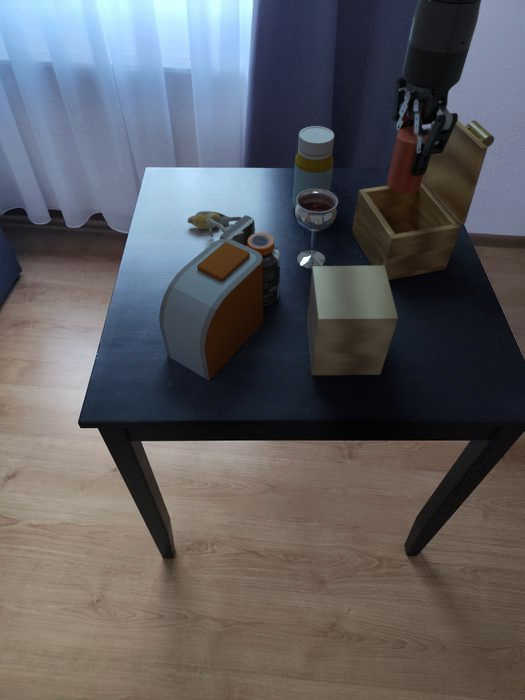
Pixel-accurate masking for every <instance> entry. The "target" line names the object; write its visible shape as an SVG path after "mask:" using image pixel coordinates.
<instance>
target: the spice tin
mask: <svg viewBox="0 0 525 700" xmlns="http://www.w3.org/2000/svg"><path fill="white" fill-rule="evenodd" d="M428 136H429V134H428V135H425V137H424V143H426V141H427V139H428ZM416 144H417V136H416V135H415V134H414V127H405V128H402V129H400V130H399V131H397V133H396V138H395V143H394V148H393V152H392V157H391V162H390V165H389V171H388V175H387V179H386V186H387V185H388V187H389V188H390V189H391V190H393V191H395V192H398V193H403V194H409V193H414V192H416V191H418V190H419V188H420V186H421V182H422V181H423V180H422V179H423V175H421V176H412V175H411V174H410V170H411V166H412V162H413V158H414V154H415V151H416Z"/></svg>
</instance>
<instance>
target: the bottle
mask: <svg viewBox="0 0 525 700" xmlns="http://www.w3.org/2000/svg"><path fill="white" fill-rule="evenodd" d="M297 141H298V142H297V146H298V147H297V152H296V155H295V159H294V171H293V172H294V173H293V192H292V208H293V210H294V211H295V208H296V205H297V202H296V198H297V196H298V194H300V193H301V192H302V191H305V190H308V189H323V190H327V191H329V192H331V187H332V180H333V179H332V178H333V172H334V156H333V150H334V141H335V133H334V132H333V130H331V129H330V128H328V127H325V126H319V125H310V126H306V127H304V128H302V129H301V130H299V133H298V140H297Z"/></svg>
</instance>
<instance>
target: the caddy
mask: <svg viewBox="0 0 525 700" xmlns="http://www.w3.org/2000/svg"><path fill="white" fill-rule="evenodd" d="M352 222H353V223H352V228H351V234H352V235H353V237H354V239H355V241H356V242H357V243H358V245H359V247H360V249H361V250H362V251H363V254H364V255H365V257H366V259H367V260H368V262H369V263H370V266H382V265H384V266H385V269H386V273H387V277H388V281H391V280H392V281H393V280H397V279H402V278H408V277H413V276H419V275H423V274H429V273H434V272H441V271H445V270H446V268H447V266H448V263H449V261H450V258H451V256H452V253H453V250H454V248H455V245H456V243H457V240H458V237H459V235H460V233H461V230H462V225H460V224H459V222H458V221H457V220H456V219H455V218H454V217H453V215H452V214H451V213H450V212H449V211H448V209H447V208H446V207H445V206H444V205H443V204H442V202H441V201H440V200H439V199H438V198H437V196H436V195H435V194H434V193H433V192H432V191H431V189H430V188H429V187H428V186H427V185H426V183H425V182H424V181H423V180H422V182H421V186H420V188H419V190H418V191H416V192H414V193H409V194H403V193H398V192H395V191H393V190H391V189H390V188H389V187H388V185H387V184H386V185H382V186H374V187H370V188H369V187H368V188H362V189H359V190H358V193H357V199H356V205H355V211H354V217H353V221H352Z"/></svg>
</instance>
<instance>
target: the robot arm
mask: <svg viewBox="0 0 525 700" xmlns="http://www.w3.org/2000/svg"><path fill="white" fill-rule="evenodd" d="M416 4H417V5H416V7H415V11H414V13H413V18H412V23H411V27H410V33H409V37H408V41H407V47H406V52H405V56H404V61H403V65H402V70H401V71H402V73H401V76H397V77H396V79H395V86H394V96H393V106H392V116H391V120H392V121H393V122H396V127H395V129H396V132H398V131H399V130H400V129H402V128H405V127H414V134H415V135H416V136H417V144H416V151H415V154H414V158H413V162H412V166H411V170H410V174H411V175H412V176H421V175H424V174H425V172H426V171H427V167H428V164H429V160H430V157H431V155H432V154H439V153H442V152H443V150H444V148H445V146H446V144H447V142H448V140H449V138H450V135H451V133H452V131H453V129H454V127H455V125H456V123H457V120H459V115H458V113H457V112H450V111H449V109H448V103H449V102H448V101H449V100H448V99H449V98H448V97H449V92H450V90H451V89H452V88H454V86H456V85H457V84H458V83H459V82H460V81H461V77H462V74H463V72H464V71H463V70H464V67H465V65H466V61H467V57H468V54H469V51H470V48H471V44H472V40H473V37H474V33H475V30H476V27H477V24H478V20H479V14H480V9H481V4H482V0H418V1H417V3H416ZM449 112H450V113H451V114H450V113H449ZM431 124H433V126H432V127H431V126H429V127H423V126H426V125H431ZM428 134H429V136H428V139H427V141H426V143H424V137H425V135H428ZM437 141H439V142H438V144H436V143H437Z"/></svg>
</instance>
